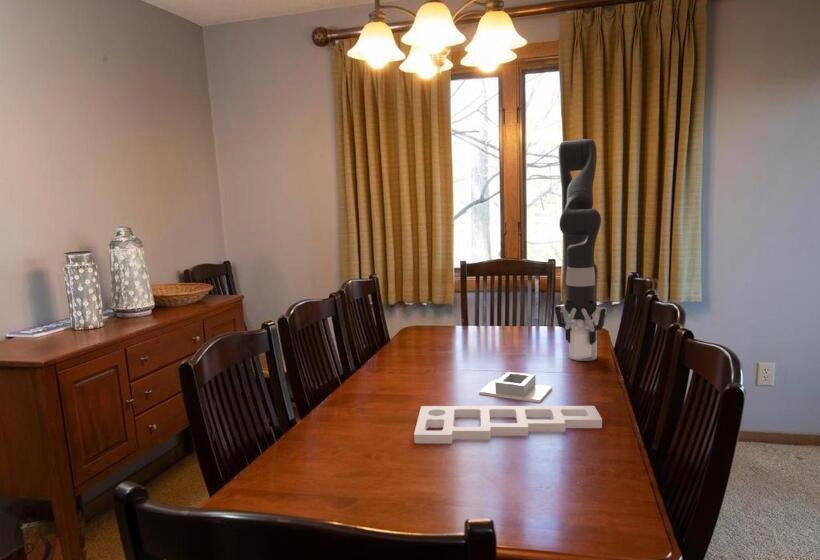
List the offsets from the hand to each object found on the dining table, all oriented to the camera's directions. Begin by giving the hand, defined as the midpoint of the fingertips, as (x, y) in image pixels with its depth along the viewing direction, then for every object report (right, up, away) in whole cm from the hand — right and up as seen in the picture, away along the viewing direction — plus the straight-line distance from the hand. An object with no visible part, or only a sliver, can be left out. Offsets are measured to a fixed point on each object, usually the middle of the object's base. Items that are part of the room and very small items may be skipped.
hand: (580, 342), depth 152 cm
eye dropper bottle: (0, -4, +1) cm, 4 cm away
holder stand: (-16, -15, +9) cm, 24 cm away
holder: (-23, -20, -16) cm, 35 cm away
